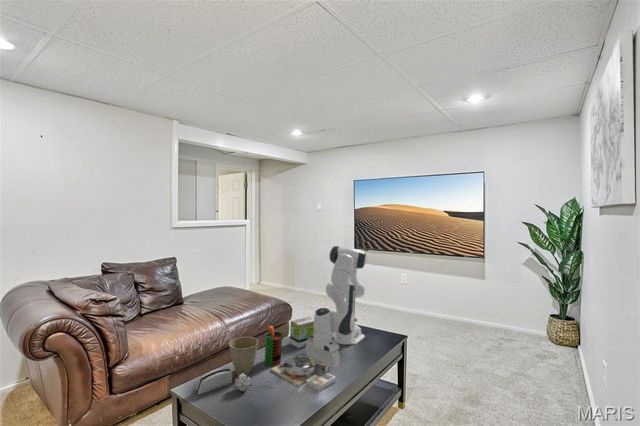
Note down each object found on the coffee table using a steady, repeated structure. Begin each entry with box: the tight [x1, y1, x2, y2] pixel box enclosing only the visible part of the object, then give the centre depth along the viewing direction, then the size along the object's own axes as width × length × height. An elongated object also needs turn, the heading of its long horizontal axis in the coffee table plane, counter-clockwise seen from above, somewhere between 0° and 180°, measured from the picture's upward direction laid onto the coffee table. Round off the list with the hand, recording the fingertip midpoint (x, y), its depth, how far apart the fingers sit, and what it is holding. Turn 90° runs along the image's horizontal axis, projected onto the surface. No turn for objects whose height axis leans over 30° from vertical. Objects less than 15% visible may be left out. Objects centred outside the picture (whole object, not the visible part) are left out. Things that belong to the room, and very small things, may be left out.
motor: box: [264, 325, 283, 367], centre depth 186 cm, size 10×9×20 cm
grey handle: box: [195, 367, 233, 395], centre depth 159 cm, size 17×5×10 cm, turn 130°
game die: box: [233, 371, 252, 394], centre depth 157 cm, size 9×8×10 cm
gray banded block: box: [314, 362, 330, 377], centre depth 164 cm, size 4×7×4 cm, turn 133°
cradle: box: [305, 372, 337, 392], centre depth 164 cm, size 12×8×2 cm
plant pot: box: [228, 336, 259, 376], centre depth 174 cm, size 15×15×16 cm
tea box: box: [289, 316, 314, 349], centre depth 212 cm, size 15×10×15 cm, turn 131°
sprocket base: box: [270, 355, 315, 387], centre depth 176 cm, size 22×22×1 cm
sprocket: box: [280, 355, 316, 378], centre depth 176 cm, size 21×21×7 cm
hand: (321, 369), depth 164 cm, fingers closed on gray banded block, 4 cm apart
